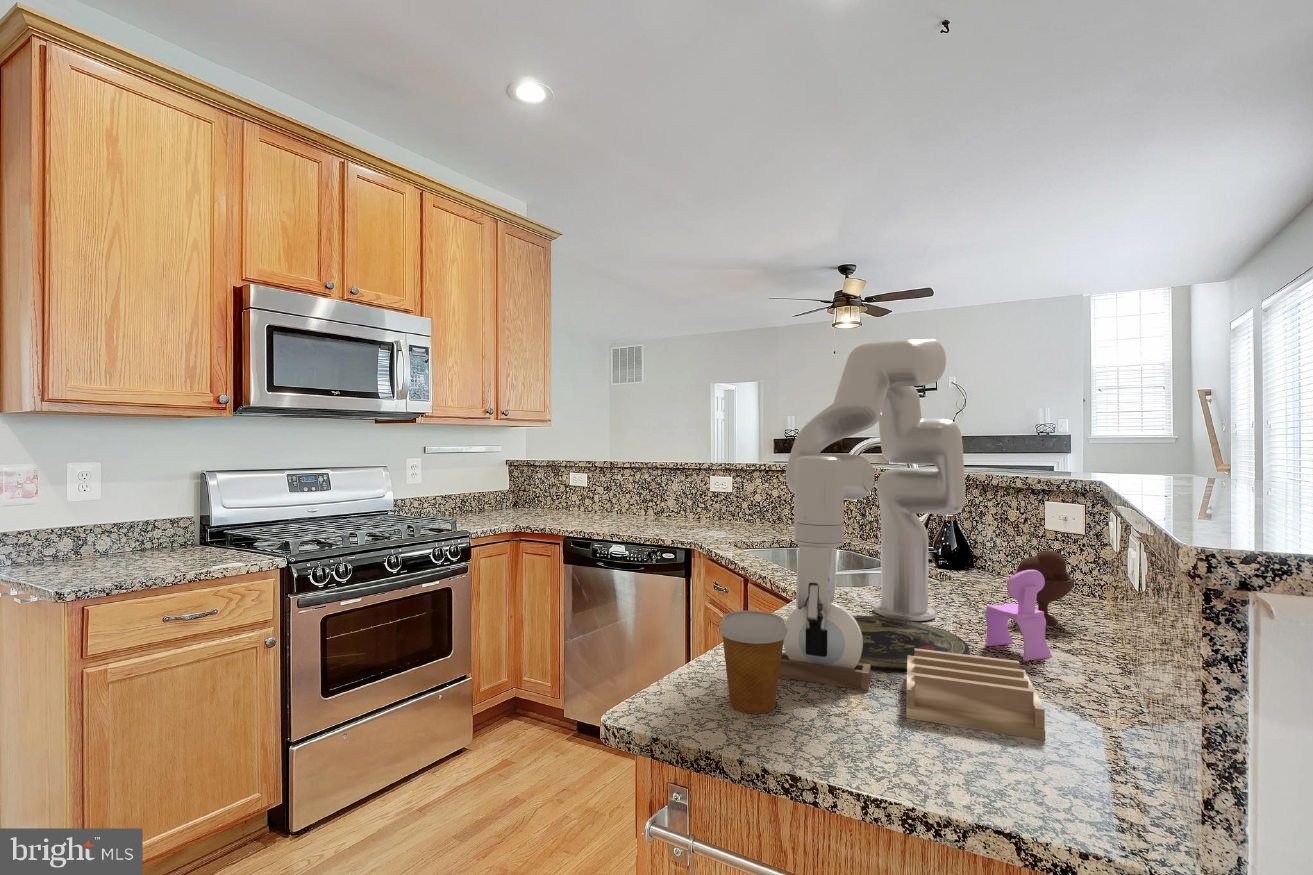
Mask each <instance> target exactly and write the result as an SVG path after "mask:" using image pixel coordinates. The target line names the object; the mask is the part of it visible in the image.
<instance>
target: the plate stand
mask: <svg viewBox="0 0 1313 875" xmlns="http://www.w3.org/2000/svg"><path fill="white" fill-rule="evenodd" d="M870 665H871V664H864V663H858V664H857V665H856V667H855V668H854V669H849V668H842V667H835V666H828V665H820V664H813V663H806V662H799V661H792V660H790V659H789V658H788V656H787V654H786V652H782V658H781V666H780V673H779V678H784V679H791V680H795V681H797V680H798V681H804V682H810V683H817V684H824V685H830V686H838V687H842V688H850V689H857V690H863V691H869V689H870V685H871V670H870Z"/></svg>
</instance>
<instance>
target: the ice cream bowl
mask: <svg viewBox="0 0 1313 875" xmlns="http://www.w3.org/2000/svg"><path fill="white" fill-rule="evenodd" d="M1025 570H1037V571H1039V572H1040V573H1041V574H1042V575H1043V577H1044V579H1045V584H1044V587H1043V588H1042V590H1040V591H1039V592H1038V593H1037V598H1036V603H1037V610H1039V611H1042V612H1044V618H1045V619H1046V626H1056V625H1058V624H1059V620H1058V619H1057V618H1055V617H1054V616H1052V615H1051V614H1049V610H1048V609H1049V605H1050V603H1053V602H1056V601H1058V600H1060V599H1062V598H1064V597H1066V596H1067V595H1068V594H1070V593H1071V591H1072V589H1073V588H1074V585H1075V581H1076V579H1075V578H1073V577H1071V576H1070V574H1069V572H1068V571H1067V561H1066V559H1065V557H1063V556H1062V554H1060V553H1059V552H1058V551H1055V550H1049V549H1048V550H1047V549H1046V550H1040V551H1039V552H1038V553H1037V554H1036V555H1035V556H1029V557H1026V558H1024V559H1022V560H1021V561H1020V562H1019V564H1018V565H1017V570H1016V571H1015V572H1012V576H1013V575H1015V574H1017V573H1019V572H1021V571H1025Z"/></svg>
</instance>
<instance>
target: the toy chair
mask: <svg viewBox="0 0 1313 875" xmlns="http://www.w3.org/2000/svg"><path fill="white" fill-rule="evenodd" d="M1044 584H1045V579H1044V577H1043V575H1042V574H1041V573H1040V572H1039V571H1037V570H1025V571H1021V572H1019V573H1017V574H1015V575H1013V574H1012V575H1011V577H1009V578H1008V580H1007V582H1006V589H1007V590H1006V591H1007V594H1008V596H1009V597H1011V598H1013V599H1014V600H1016V601H1017V603H1014V602H1013V603H1012V602H1011V603H1005V604H991V605H986V611H985V612H984V616H985V622H986V637H985V638H986V640H985V646H986V647H991V646H1000V645H1001V646H1002V645H1010V644H1014V641H1013V639H1012V637H1011V635H1010V632H1009V631H1010V630H1009V628H1008V624H1009V623H1008V622H1009V619H1011V620H1013V621H1014V622H1016V624H1017V627H1018V628H1019V630H1020V632H1021V635H1022V638H1023V646H1024V647H1023V657H1022V660H1023V661H1032V660H1038V659H1039V660H1041V659H1047V658H1048V659H1049V658H1053V655H1052V653H1051V651H1050V648H1049V646H1048V644H1047V641H1046V627H1047V625H1046V619H1045V618H1044V612H1042V611H1039V610H1038V609H1036V607H1037V606H1036V605H1037V604H1036V603H1037V601H1036V598H1037V593H1038V592H1039V591H1040V590H1042V588H1043V587H1044Z"/></svg>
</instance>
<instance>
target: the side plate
mask: <svg viewBox="0 0 1313 875" xmlns="http://www.w3.org/2000/svg"><path fill="white" fill-rule="evenodd" d="M818 609H822V606H818ZM806 610H807V603H806V604H805V605H804V607H803V608H801V610H799V609H797V607H796V608H795V609H794V610H792V611H791V614H790V615H789V616H788V617H787V619H786V621H785V622H784V623H785V626H786V627H787V629H788V632H787V634H786V637H785V638H784V642H783V648H784V651H785V653H786V654H787V656H788V658H789V659H790V660H792V661H799V662H806V663H813V664H820V665H828V666H835V667H842V668H849V669H854V668H855V667H856V665H857V664H858V662H859V660H860V657H861V653H862V648H863V638H862V633H861V630H860V627H859V625H858V623H857V622H856V620H855V619H854V617H853V616H852V613H850V612H849V611H848V610H847V609H846V608H845V607H843V606H841V605H839V604H837V603H835V602H834V601H833V602H832V604H831V607H830V609H829V610H828V611H826V623H825V630H827V656H826V657H821V656H814V655H807V654H806V615H807V611H806ZM818 616H820V617H821V614H818Z"/></svg>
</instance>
